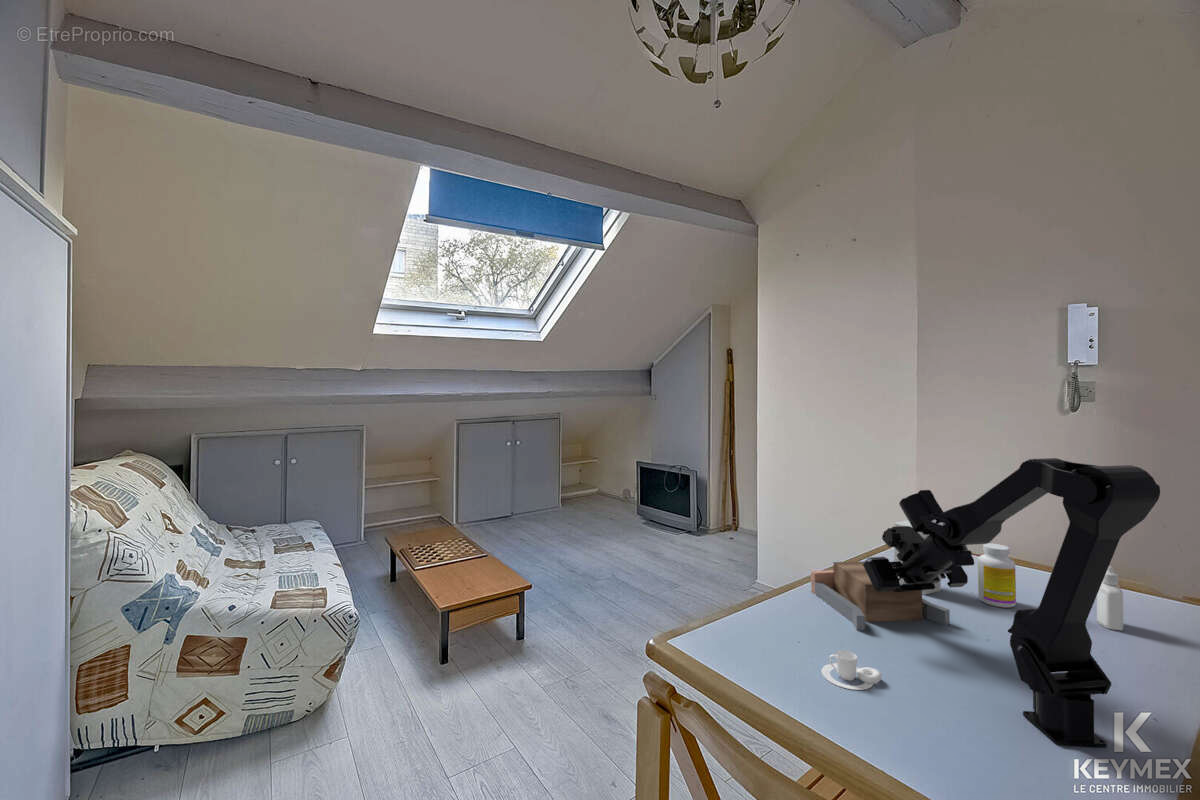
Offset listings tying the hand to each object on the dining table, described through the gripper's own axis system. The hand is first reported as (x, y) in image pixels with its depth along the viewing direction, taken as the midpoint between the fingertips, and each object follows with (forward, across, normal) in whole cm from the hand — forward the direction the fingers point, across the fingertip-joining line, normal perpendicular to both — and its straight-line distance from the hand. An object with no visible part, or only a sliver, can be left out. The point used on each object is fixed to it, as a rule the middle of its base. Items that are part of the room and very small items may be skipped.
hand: (894, 590), depth 104 cm
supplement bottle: (+9, -29, +1) cm, 30 cm away
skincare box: (+16, -18, -6) cm, 25 cm away
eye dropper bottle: (0, -42, +10) cm, 43 cm away
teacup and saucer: (-10, +22, +20) cm, 31 cm away
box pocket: (+10, 0, 0) cm, 10 cm away
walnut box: (+10, -1, 0) cm, 10 cm away
